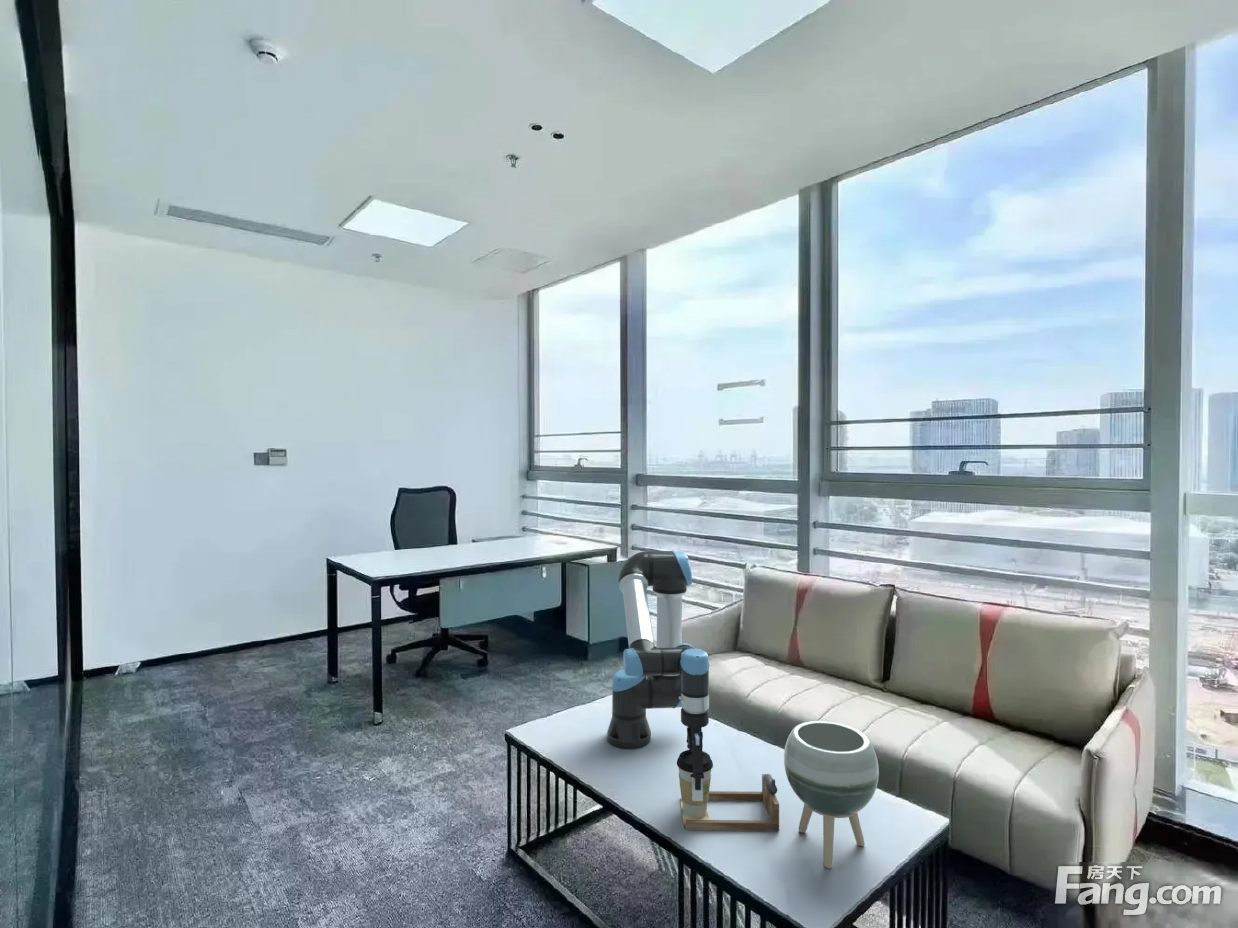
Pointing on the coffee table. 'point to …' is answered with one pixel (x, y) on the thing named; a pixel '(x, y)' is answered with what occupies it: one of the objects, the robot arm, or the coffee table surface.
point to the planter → (831, 775)
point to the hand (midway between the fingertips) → (694, 786)
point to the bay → (740, 825)
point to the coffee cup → (685, 769)
